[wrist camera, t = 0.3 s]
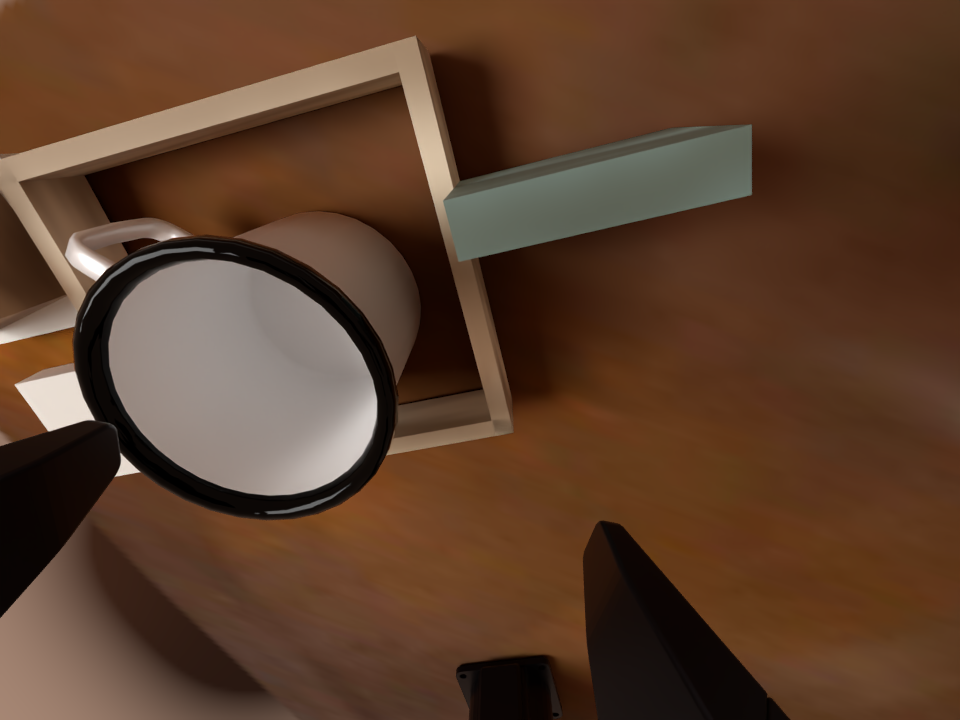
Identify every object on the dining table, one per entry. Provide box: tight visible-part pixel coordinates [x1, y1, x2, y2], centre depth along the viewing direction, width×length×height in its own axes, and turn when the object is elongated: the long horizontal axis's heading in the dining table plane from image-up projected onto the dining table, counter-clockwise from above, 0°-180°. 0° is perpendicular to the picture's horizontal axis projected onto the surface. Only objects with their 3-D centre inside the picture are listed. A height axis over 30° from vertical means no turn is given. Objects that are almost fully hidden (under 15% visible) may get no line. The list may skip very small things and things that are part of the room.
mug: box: [65, 211, 421, 520], centre depth 18 cm, size 12×9×9 cm
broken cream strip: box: [0, 153, 140, 476], centre depth 22 cm, size 15×6×2 cm, turn 13°
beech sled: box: [0, 36, 752, 455], centre depth 18 cm, size 15×24×6 cm, turn 103°
